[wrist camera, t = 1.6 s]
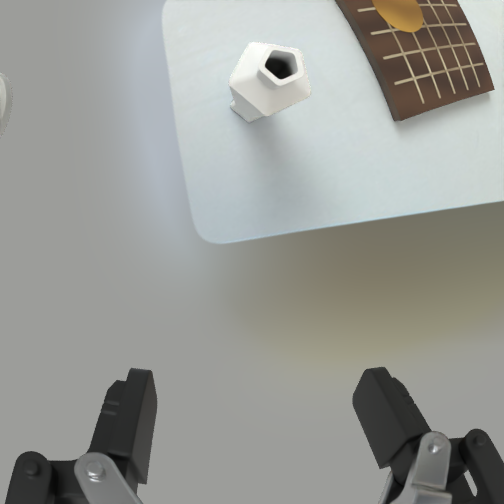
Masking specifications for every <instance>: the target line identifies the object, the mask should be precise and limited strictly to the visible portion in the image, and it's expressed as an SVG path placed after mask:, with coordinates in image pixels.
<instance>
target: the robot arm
mask: <svg viewBox="0 0 504 504" xmlns="http://www.w3.org/2000/svg"><path fill="white" fill-rule="evenodd" d="M353 407H354V409H355V412H356V414H357V416H358V419H359V421H360V423H361V425H362V428H363V430H364V433H365V435H366V437H367V439H368V442H369V444H370V447H371V449H372V451H373V454H374V456H375V459H376V461H377V463H378V466H379V468H380V469H382V468H385V467H388V466H390V467H391V471H390V473H389V475H388V478H387V481H386V484H385V486H384V489H383V492H382V495H381V497H380V500H379V502H378V504H504V463H503V461H502V459H501V457H500V455H499V453H498V452H497V450H496V448H495V446H494V444H493V443H492V441H491V439H490V438H489V436H488V434H487V433H486V432H484V431H483V430H481V429H473V430H471V431H469V433H468V434H467V435H466V436H465V437H464V438H452V439H448V438H447V437H446V436H445V435H444V434H443V433H441V432H436V431H431V429H430V428H429V426H428V424H427V423H426V421H425V419H424V417H423V416H422V414H421V412H420V411H419V409H418V407H417V406H416V404H414V401H413V399H412V397H411V396H409V393H408V391H407V389H406V388H405V386H404V385H403V384H402V383H401V382H400V381H398V380H397V379H396V378H392V377H391V376H390V374H389V372H388V371H387V369H386V368H385V367H378V368H371V369H366V370H365V371H364V373H363V375H362V377H361V379H360V381H359V383H358V385H357V387H356V390H355V392H354V394H353ZM156 413H157V395H156V391H155V385H154V379H153V374H152V371H151V370H143V369H136V368H131V369H130V371H129V373H128V377H127V380H126V381H119V380H116V382H114V384H113V385H112V386H111V387H110V388H109V389H108V391H107V394H106V396H105V400H104V404H103V405H102V409H101V413H100V415H99V418H98V421H97V424H96V428H95V431H94V434H93V438H92V441H91V445H90V448H89V449H88V451H87V453H86V454H84V455H82V456H81V457H80V458H79V459H76V460H72V461H49V460H47V459H46V458H45V457H44V456H43V455H41V454H40V453H37V452H33V451H30V452H25V453H23V454H21V455H20V456H19V457H18V458H17V460H16V463H15V466H14V469H13V473H12V477H11V481H10V484H9V489H8V493H7V497H6V502H5V504H143V503H142V501H141V500H140V499H139V497H138V496H137V487H138V483H141V484H147V475H148V468H149V460H150V452H151V445H152V438H153V431H154V425H155V419H156ZM467 470H469V472H470V474H471V476H472V478H473V481H474V483H475V485H476V487H477V495H476V497H475V496H474V495H473V494H472V492H471V489H470V487H469V485H468V482H467V480H466V478H465V476H464V473H465V472H466V471H467Z"/></svg>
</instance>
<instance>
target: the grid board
mask: <svg viewBox="0 0 504 504" xmlns="http://www.w3.org/2000/svg"><path fill="white" fill-rule="evenodd" d="M335 1H336V2H337V4H338V5H339V7H340V9H341V10H342V12H343V14H344V15H345V17H346V19H347V20H348V22H349V24H350V26H351V27H352V29H353V31H354V33H355V35H356V36H357V38H358V40H359V42H360V44H361V46H362V48H363V50H364V52H365V54H366V56H367V58H368V60H369V62H370V64H371V66H372V68H373V70H374V73H375V75H376V77H377V79H378V82H379V84H380V86H381V89H382V91H383V93H384V96H385V98H386V101H387V103H388V106H389V108H390V111H391V114H392V116H393V119H394V121H402V120H404V119H407V118H410V117H413V116H415V115H418V114H421V113H424V112H426V111H429V110H432V109H435V108H438V107H441V106H444V105H447V104H450V103H453V102H456V101H459V100H462V99H465V98H469V97H472V96H475V95H478V94H482V93H485V92H489V91H492V90H495V89H494V86H493V83H492V79H491V76H490V73H489V71H488V68H487V65H486V62H485V60H484V57H483V54H482V52H481V49H480V47H479V44H478V42H477V40H476V37H475V35H474V33H473V31H472V29H471V27H470V24H469V22H468V20H467V18H466V16H465V14H464V12H463V10H462V9H461V7H460V5H459V3H458V1H457V0H335Z"/></svg>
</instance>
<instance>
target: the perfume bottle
mask: <svg viewBox="0 0 504 504" xmlns="http://www.w3.org/2000/svg"><path fill="white" fill-rule="evenodd" d="M229 86H230V89H231V92H232V95H233V101H232V103H231V105H230V107H231V108H232V109H233V110H234V111H235V112H236V113H237V114H239V115H240V116H241V117H242V118H243V119H244V120H246V121H247V122H249V123H250V122H252V121H254V120H256V119H258V118H260V117H265V116H271V115H273V114H275V113H277V112H279V111H281V110H283V109H285V108H287V107H289V106H291V105H293V104H296V103H298V102H300V101H302V100H304V99H306V98H308V97H310V96H311V88H310V84H309V79H308V75H307V71H306V66H305V62H304V58H303V54H302V52H301V51H300V50H299V49H295V48H290V47H284V46H279V45H273V44H266V43H259V42H251V43H249V44H248V45H247V47H246V49H245V51H244V53H243V55H242V56H241V58H240V60H239V62H238V64H237V66H236V68H235V69H234V71H233V73H232V75H231V77H230V79H229Z"/></svg>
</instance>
